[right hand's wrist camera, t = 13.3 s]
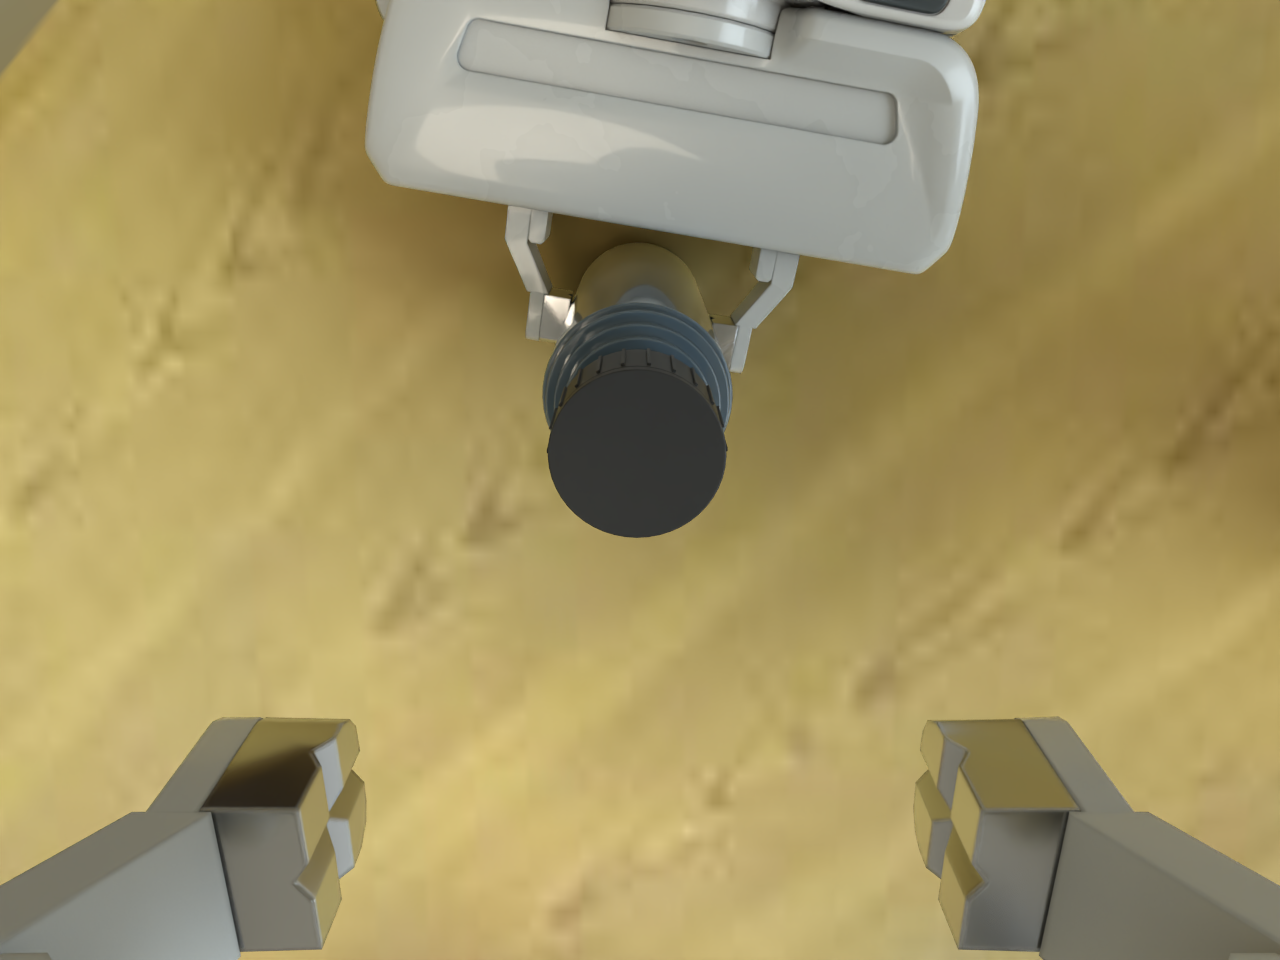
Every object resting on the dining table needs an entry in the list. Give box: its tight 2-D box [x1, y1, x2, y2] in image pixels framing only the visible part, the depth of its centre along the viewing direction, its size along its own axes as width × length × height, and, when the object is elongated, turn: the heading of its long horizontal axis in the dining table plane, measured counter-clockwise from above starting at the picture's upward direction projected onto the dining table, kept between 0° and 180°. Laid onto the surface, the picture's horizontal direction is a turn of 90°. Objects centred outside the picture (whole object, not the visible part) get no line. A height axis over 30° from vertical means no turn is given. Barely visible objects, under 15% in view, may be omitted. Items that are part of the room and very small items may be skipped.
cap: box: [547, 348, 727, 538], centre depth 21 cm, size 4×4×2 cm
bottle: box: [542, 242, 733, 432], centre depth 30 cm, size 5×5×19 cm
